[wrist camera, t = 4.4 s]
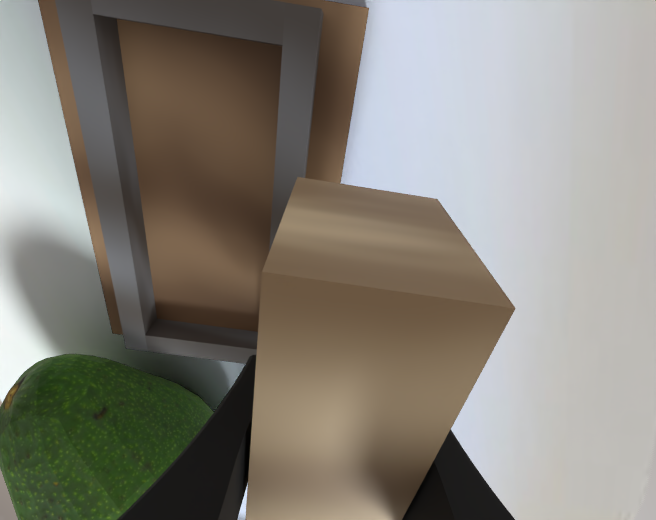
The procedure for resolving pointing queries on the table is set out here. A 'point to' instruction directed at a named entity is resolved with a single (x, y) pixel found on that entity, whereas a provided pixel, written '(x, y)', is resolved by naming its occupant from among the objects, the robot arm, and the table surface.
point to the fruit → (91, 436)
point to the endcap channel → (198, 149)
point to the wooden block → (363, 351)
